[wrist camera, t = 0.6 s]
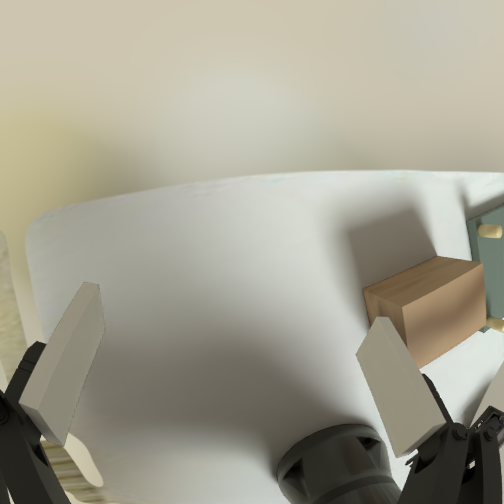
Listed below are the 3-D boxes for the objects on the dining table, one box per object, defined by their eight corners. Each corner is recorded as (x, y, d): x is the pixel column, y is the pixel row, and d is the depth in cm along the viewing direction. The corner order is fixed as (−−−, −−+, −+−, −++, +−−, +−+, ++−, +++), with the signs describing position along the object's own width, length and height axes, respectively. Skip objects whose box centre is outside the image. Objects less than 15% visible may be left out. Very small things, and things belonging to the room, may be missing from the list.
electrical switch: (462, 446, 35) (488, 468, 25) (455, 436, 35) (483, 459, 25) (494, 409, 35) (523, 427, 25) (489, 397, 35) (520, 415, 25)
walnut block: (443, 308, 31) (486, 324, 23) (373, 344, 30) (410, 373, 23) (436, 255, 30) (482, 262, 22) (362, 289, 30) (402, 307, 22)
